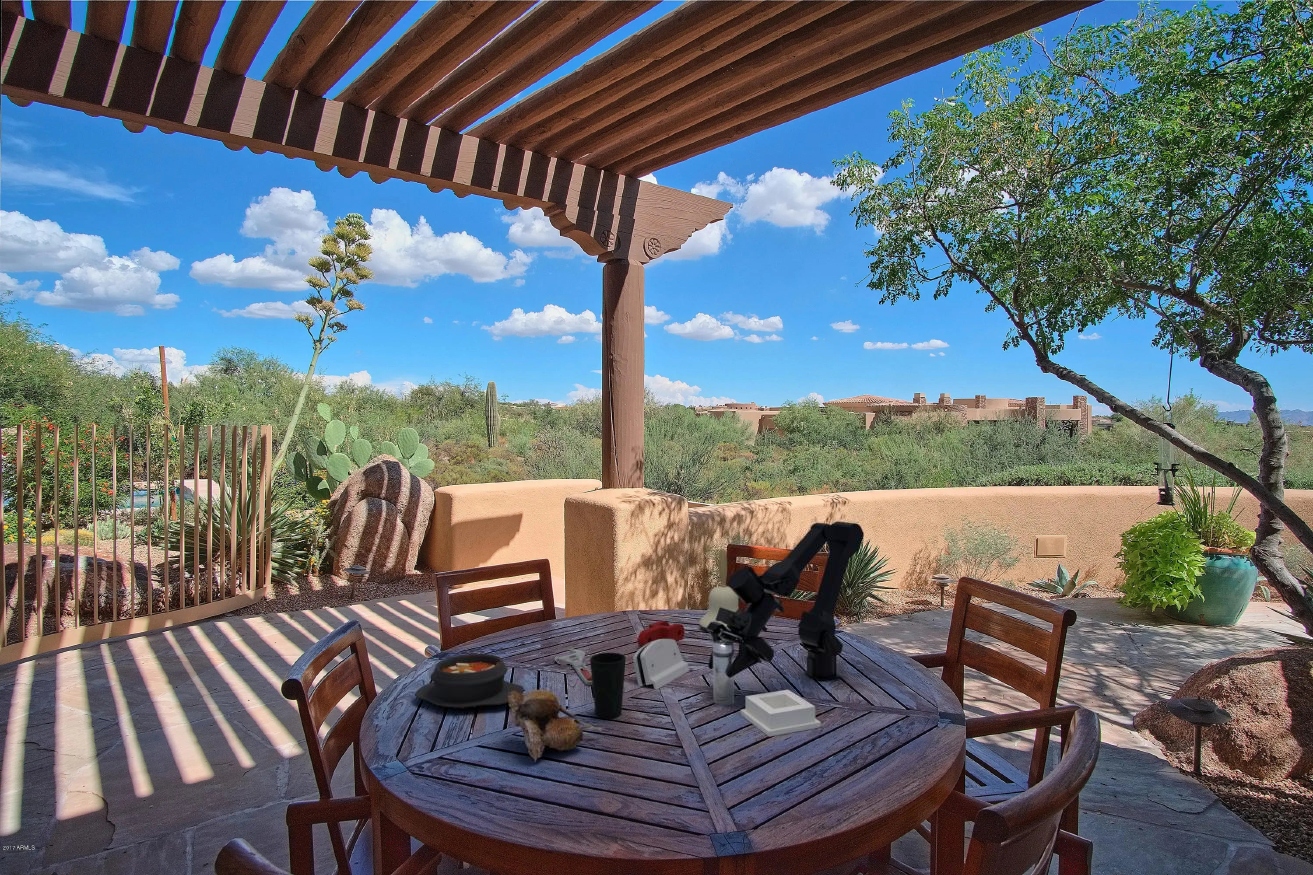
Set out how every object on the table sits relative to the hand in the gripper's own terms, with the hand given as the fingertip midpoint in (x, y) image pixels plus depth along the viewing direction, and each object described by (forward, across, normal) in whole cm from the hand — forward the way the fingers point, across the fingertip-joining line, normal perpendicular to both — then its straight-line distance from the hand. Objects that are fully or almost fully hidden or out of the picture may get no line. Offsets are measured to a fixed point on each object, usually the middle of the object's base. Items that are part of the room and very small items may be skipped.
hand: (718, 672), depth 153 cm
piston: (+4, 0, +6) cm, 7 cm away
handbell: (-22, -49, +32) cm, 63 cm away
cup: (+22, -8, -12) cm, 26 cm away
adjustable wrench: (+17, -38, -7) cm, 43 cm away
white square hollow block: (+2, +15, +8) cm, 17 cm away
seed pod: (+34, 0, -24) cm, 42 cm away
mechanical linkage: (-4, -47, +14) cm, 49 cm away
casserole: (+38, -33, -28) cm, 57 cm away
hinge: (+6, -22, +4) cm, 23 cm away
